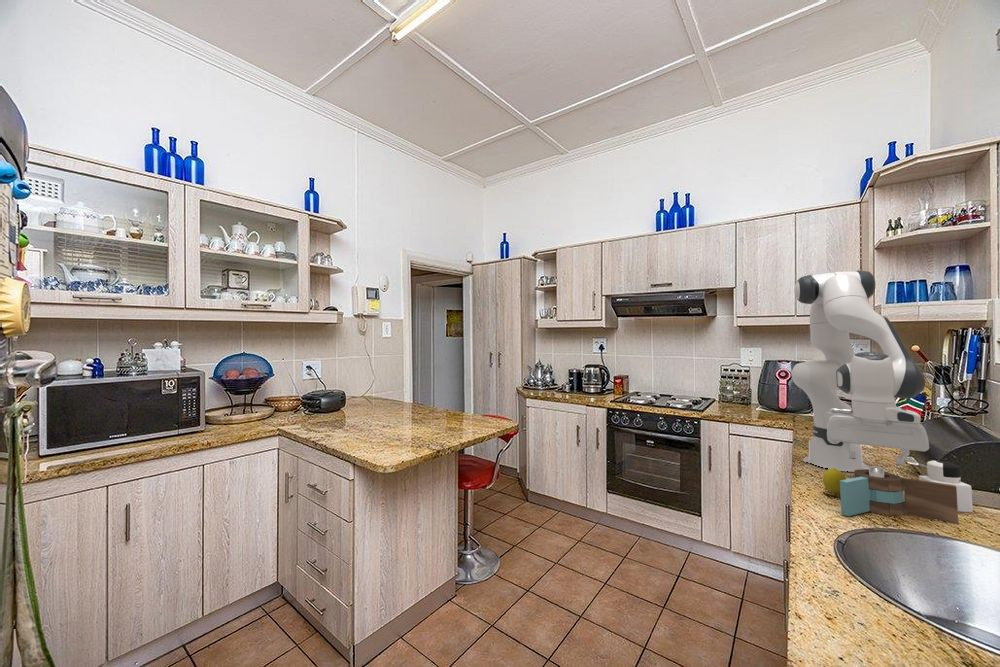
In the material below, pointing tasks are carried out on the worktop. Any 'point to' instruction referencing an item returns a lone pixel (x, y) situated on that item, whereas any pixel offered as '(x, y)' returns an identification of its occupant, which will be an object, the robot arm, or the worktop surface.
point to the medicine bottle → (950, 482)
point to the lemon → (833, 480)
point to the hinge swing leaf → (863, 496)
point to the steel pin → (876, 471)
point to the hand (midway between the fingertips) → (875, 461)
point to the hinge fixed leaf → (914, 497)
